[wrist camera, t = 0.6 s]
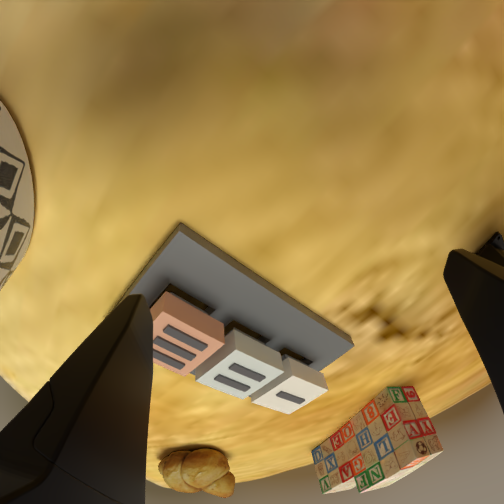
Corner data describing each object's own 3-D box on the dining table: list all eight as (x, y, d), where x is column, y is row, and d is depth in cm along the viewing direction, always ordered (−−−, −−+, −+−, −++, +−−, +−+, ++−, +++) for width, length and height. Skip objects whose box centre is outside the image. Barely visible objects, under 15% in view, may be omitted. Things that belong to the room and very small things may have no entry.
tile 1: (319, 363, 29) (329, 391, 26) (283, 388, 30) (289, 415, 27) (285, 345, 27) (293, 377, 24) (247, 373, 28) (251, 404, 25)
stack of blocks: (338, 448, 48) (353, 503, 38) (310, 450, 47) (324, 509, 36) (414, 385, 39) (445, 451, 28) (386, 385, 37) (417, 460, 26)
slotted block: (222, 311, 24) (225, 346, 21) (186, 345, 25) (184, 378, 22) (167, 279, 21) (162, 313, 18) (134, 318, 23) (127, 352, 20)
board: (350, 337, 29) (354, 345, 28) (268, 395, 33) (269, 403, 32) (180, 222, 21) (179, 230, 20) (105, 320, 25) (102, 330, 24)
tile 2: (277, 341, 26) (284, 373, 23) (239, 370, 28) (243, 401, 25) (232, 317, 24) (236, 351, 21) (195, 350, 26) (195, 383, 23)
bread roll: (169, 465, 45) (169, 502, 39) (143, 446, 40) (140, 490, 33) (236, 458, 45) (241, 498, 38) (218, 440, 40) (222, 487, 33)
